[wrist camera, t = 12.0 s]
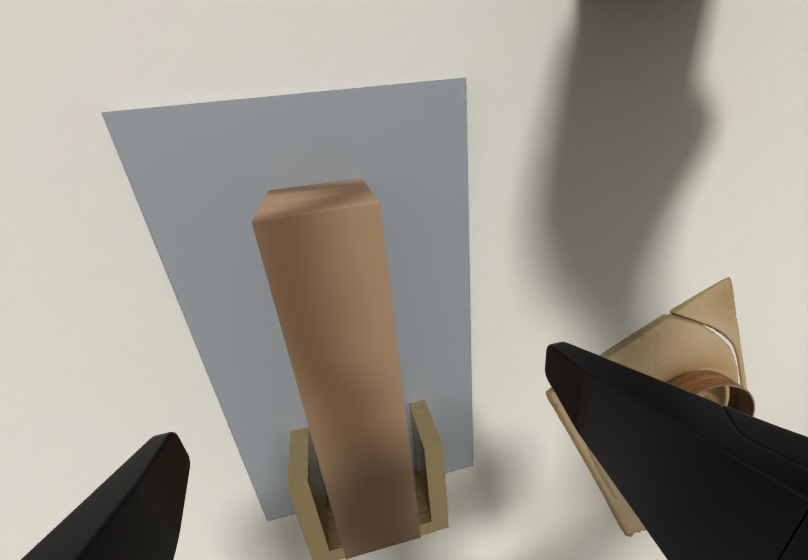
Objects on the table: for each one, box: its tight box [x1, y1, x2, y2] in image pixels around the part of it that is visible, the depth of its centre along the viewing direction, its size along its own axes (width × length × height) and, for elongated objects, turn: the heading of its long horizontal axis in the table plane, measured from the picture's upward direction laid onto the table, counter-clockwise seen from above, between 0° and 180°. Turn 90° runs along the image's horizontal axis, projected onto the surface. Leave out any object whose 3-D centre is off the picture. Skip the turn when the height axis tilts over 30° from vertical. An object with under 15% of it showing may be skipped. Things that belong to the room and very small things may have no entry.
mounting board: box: [102, 78, 473, 521], centre depth 20 cm, size 14×24×1 cm, turn 5°
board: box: [546, 277, 755, 537], centre depth 30 cm, size 25×15×3 cm, turn 32°
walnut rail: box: [252, 178, 421, 559], centre depth 18 cm, size 4×18×5 cm, turn 5°
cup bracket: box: [287, 400, 448, 560], centre depth 22 cm, size 8×7×4 cm
